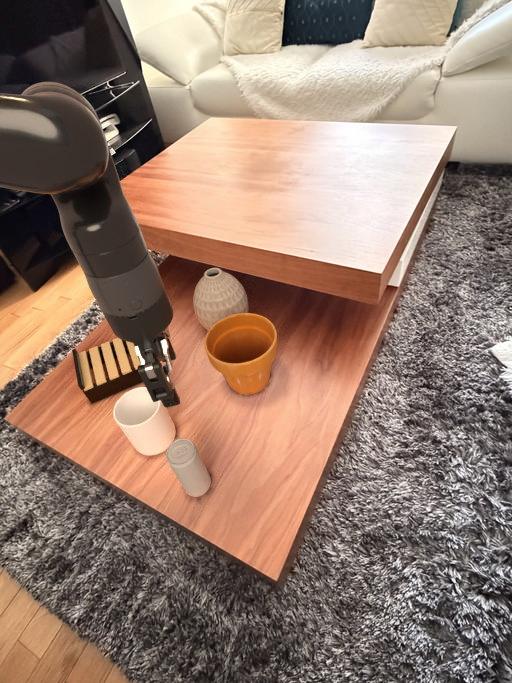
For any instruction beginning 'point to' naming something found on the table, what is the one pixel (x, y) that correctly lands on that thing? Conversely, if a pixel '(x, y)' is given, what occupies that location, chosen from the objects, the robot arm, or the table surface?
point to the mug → (144, 421)
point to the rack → (107, 355)
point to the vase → (218, 297)
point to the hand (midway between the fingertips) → (171, 380)
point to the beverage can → (188, 467)
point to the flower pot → (243, 350)
